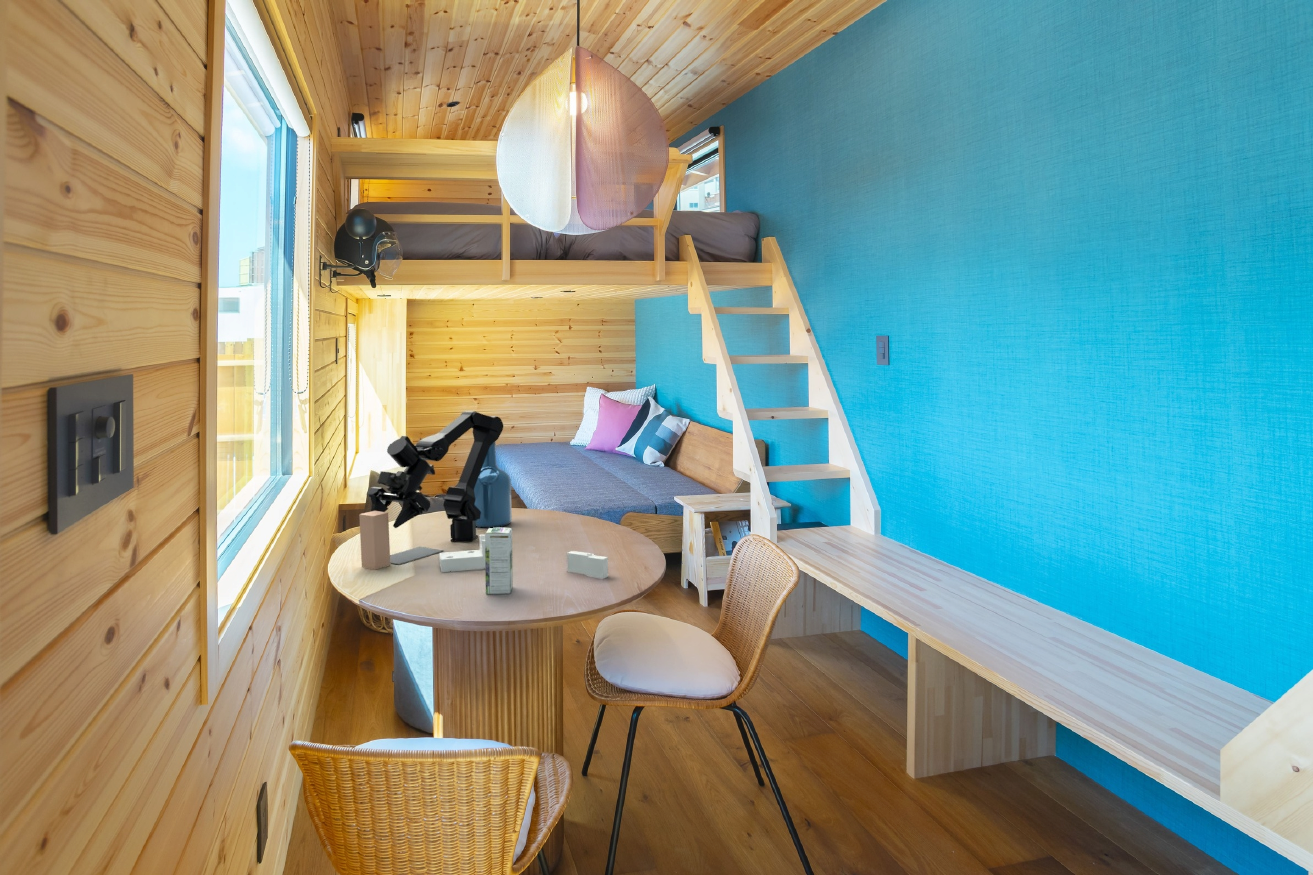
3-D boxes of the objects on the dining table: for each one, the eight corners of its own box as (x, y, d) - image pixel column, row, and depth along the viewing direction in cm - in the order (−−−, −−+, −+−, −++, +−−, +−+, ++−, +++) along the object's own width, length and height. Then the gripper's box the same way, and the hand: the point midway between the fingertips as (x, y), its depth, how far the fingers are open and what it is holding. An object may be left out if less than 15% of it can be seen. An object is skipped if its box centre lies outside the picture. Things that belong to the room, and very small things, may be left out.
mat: (419, 547, 232) (419, 546, 232) (443, 551, 227) (443, 550, 227) (374, 560, 218) (374, 559, 218) (398, 565, 213) (398, 563, 213)
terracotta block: (376, 562, 216) (374, 510, 214) (390, 565, 214) (388, 512, 212) (361, 567, 212) (359, 514, 210) (375, 569, 209) (372, 516, 208)
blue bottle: (472, 520, 268) (469, 429, 264) (513, 519, 269) (510, 428, 266) (467, 529, 254) (464, 433, 251) (510, 528, 256) (507, 433, 252)
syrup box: (488, 587, 193) (486, 527, 192) (513, 586, 194) (512, 526, 192) (485, 594, 188) (483, 532, 186) (511, 593, 188) (509, 532, 187)
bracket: (490, 561, 217) (489, 534, 216) (493, 568, 211) (492, 540, 210) (439, 566, 213) (438, 537, 213) (441, 573, 207) (440, 544, 206)
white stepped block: (557, 571, 209) (556, 549, 208) (599, 566, 213) (599, 545, 212) (574, 587, 195) (574, 563, 194) (619, 581, 199) (619, 558, 199)
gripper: (370, 457, 221) (338, 504, 213) (421, 461, 212) (389, 511, 203) (394, 482, 229) (364, 528, 220) (443, 487, 219) (414, 535, 211)
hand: (381, 525), depth 214 cm, fingers open, 9 cm apart
